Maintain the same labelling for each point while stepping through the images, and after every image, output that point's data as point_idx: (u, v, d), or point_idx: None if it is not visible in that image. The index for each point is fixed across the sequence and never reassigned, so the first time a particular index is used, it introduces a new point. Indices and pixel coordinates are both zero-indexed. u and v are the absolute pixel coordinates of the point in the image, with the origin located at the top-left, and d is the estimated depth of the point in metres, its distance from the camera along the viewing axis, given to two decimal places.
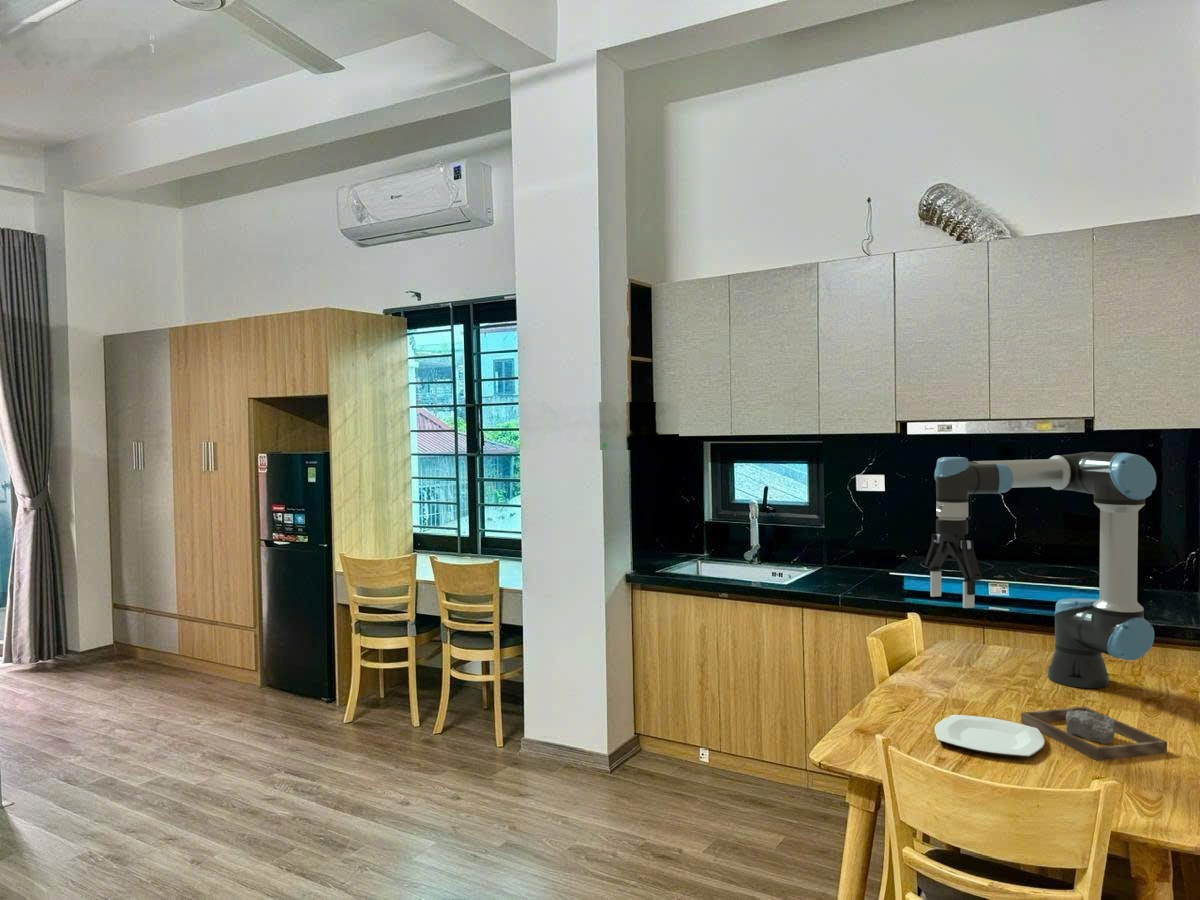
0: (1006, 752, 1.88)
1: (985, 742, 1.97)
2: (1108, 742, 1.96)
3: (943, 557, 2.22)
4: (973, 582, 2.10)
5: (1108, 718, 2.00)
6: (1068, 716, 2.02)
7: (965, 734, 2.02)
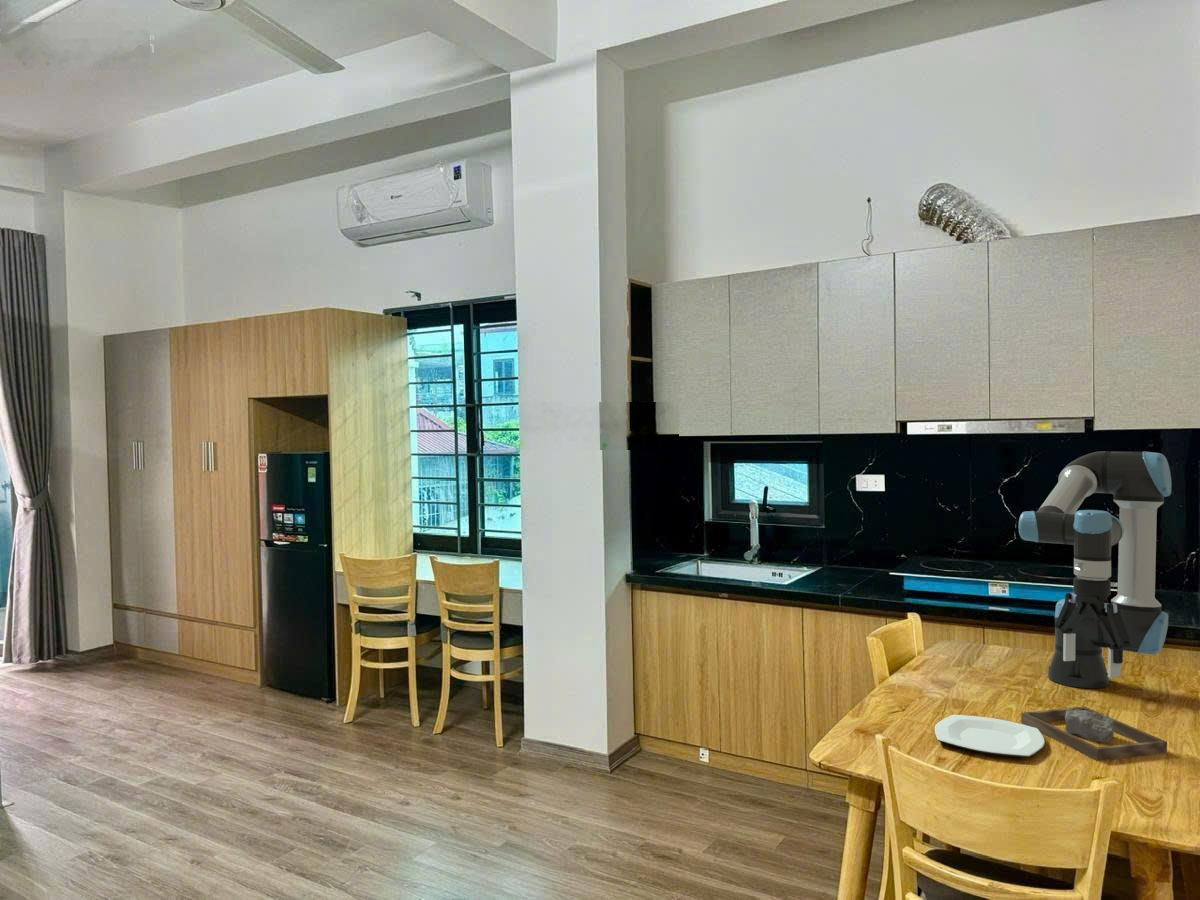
0: (1006, 752, 1.88)
1: (985, 742, 1.97)
2: (1107, 741, 1.96)
3: (1079, 619, 2.04)
4: (1121, 650, 1.91)
5: (1107, 717, 2.01)
6: (1067, 715, 2.03)
7: (965, 734, 2.02)
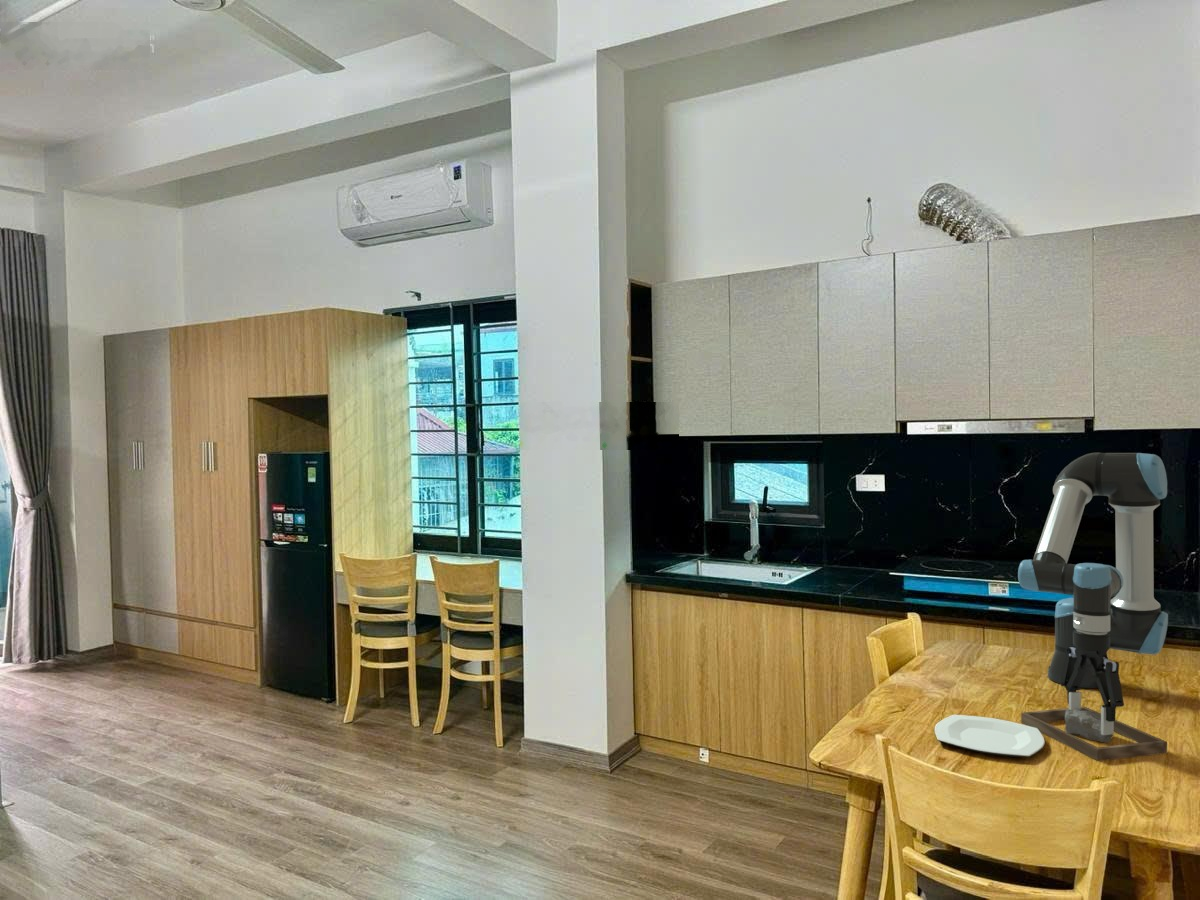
0: (1006, 752, 1.88)
1: (985, 742, 1.97)
2: (1107, 741, 1.97)
3: (1082, 674, 2.03)
4: (1113, 708, 1.94)
5: None
6: (1067, 715, 2.03)
7: (965, 734, 2.02)
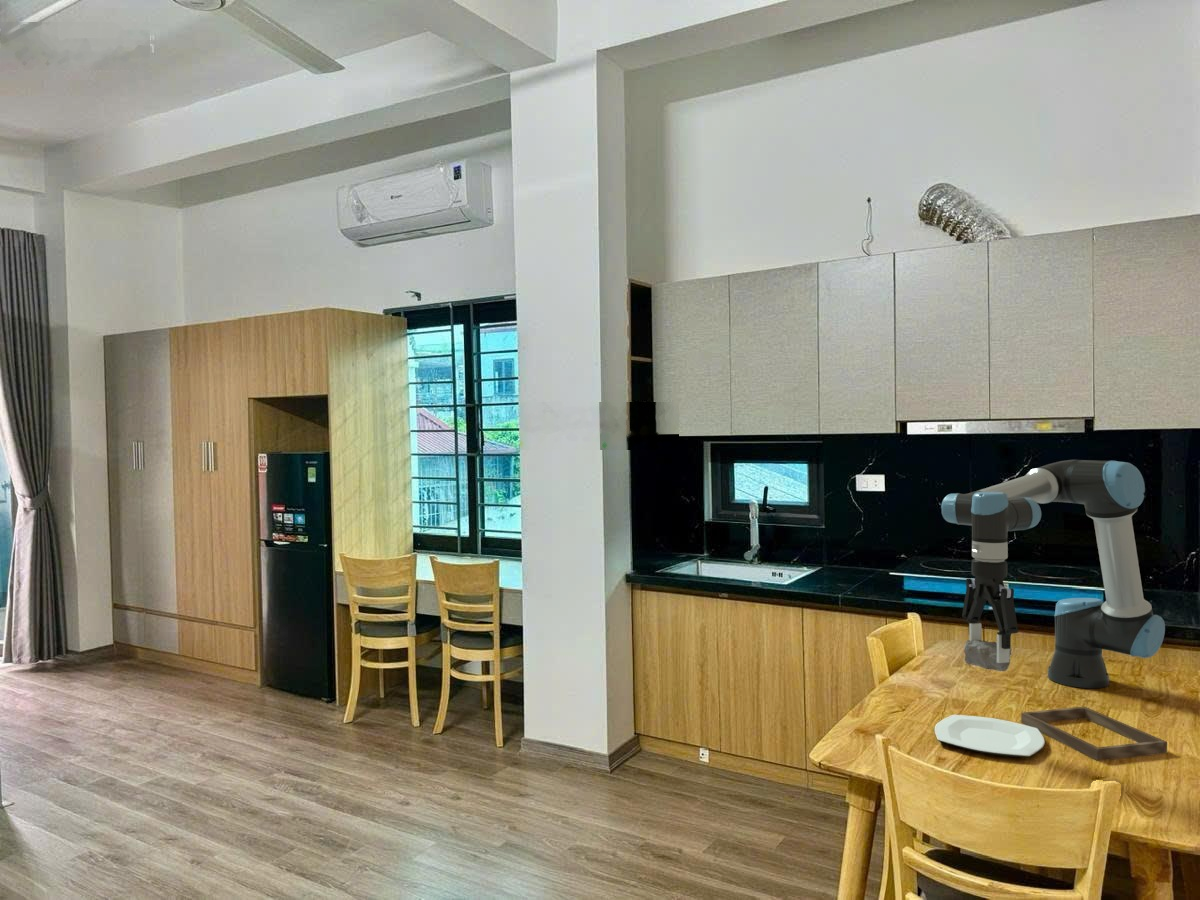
0: (1006, 752, 1.88)
1: (985, 742, 1.97)
2: (1004, 669, 1.95)
3: (981, 604, 2.01)
4: (1008, 635, 1.92)
5: None
6: (966, 646, 2.01)
7: (965, 734, 2.02)
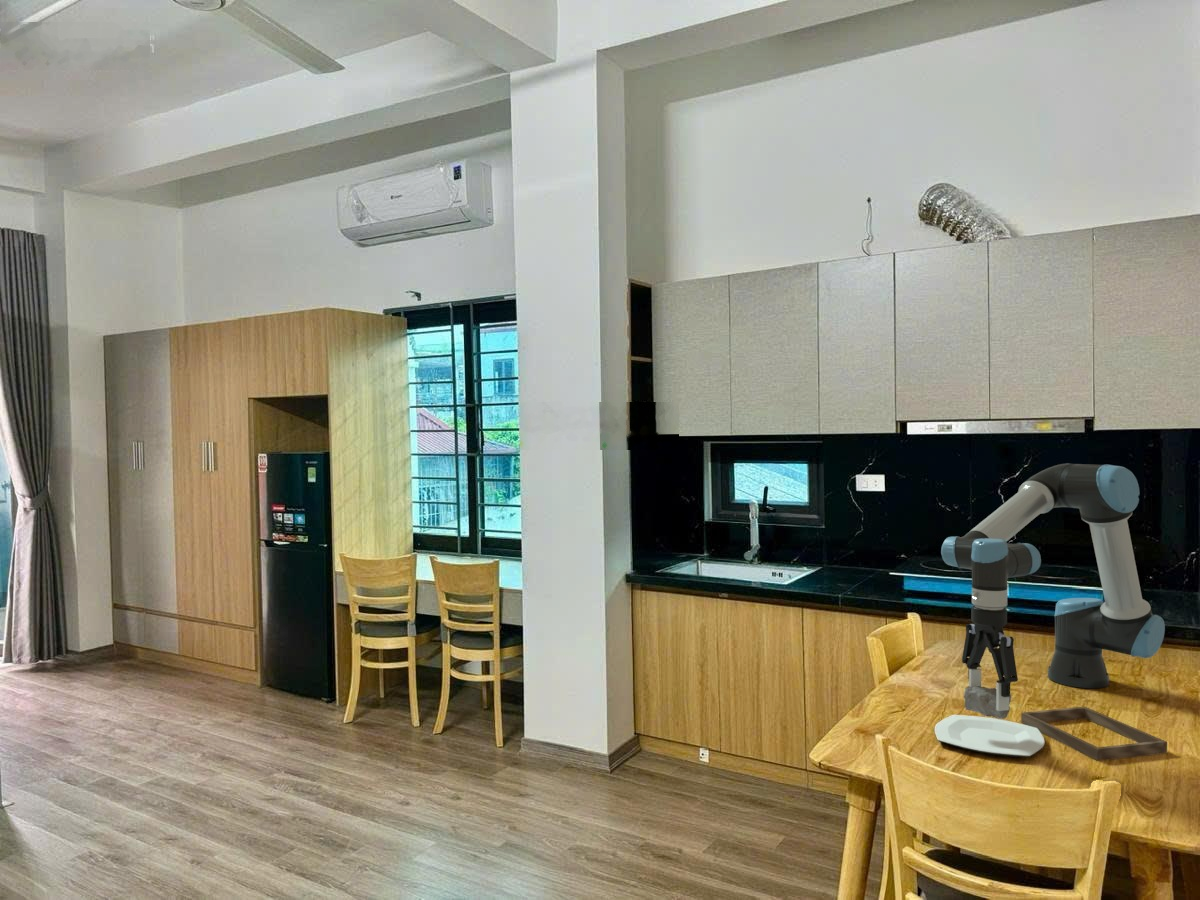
0: (1006, 752, 1.88)
1: (985, 742, 1.97)
2: (1004, 717, 1.95)
3: (981, 650, 2.02)
4: (1008, 683, 1.93)
5: None
6: (966, 692, 2.01)
7: (965, 734, 2.02)
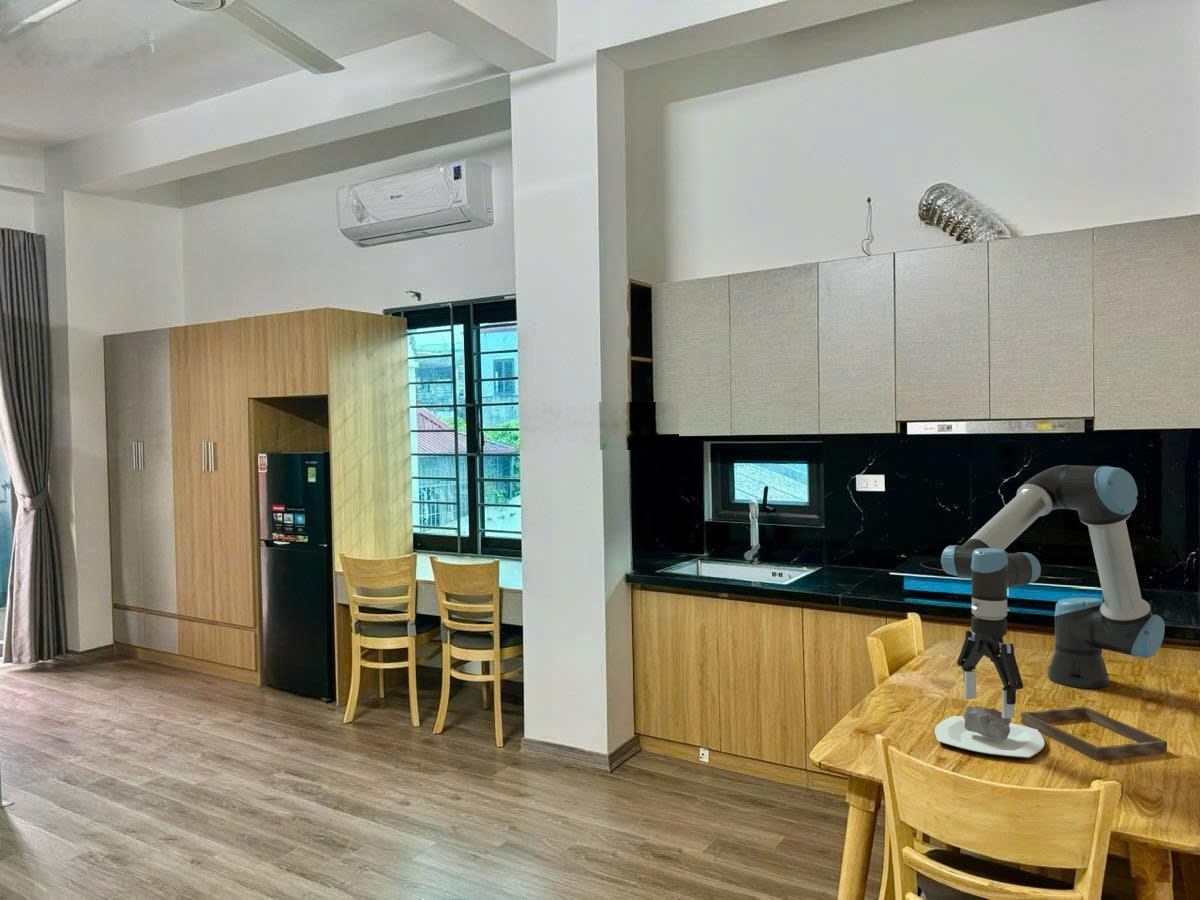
0: (1006, 753, 1.88)
1: (985, 743, 1.97)
2: (1004, 738, 1.95)
3: (979, 657, 2.03)
4: (1013, 691, 1.91)
5: None
6: (966, 712, 2.01)
7: (965, 735, 2.02)
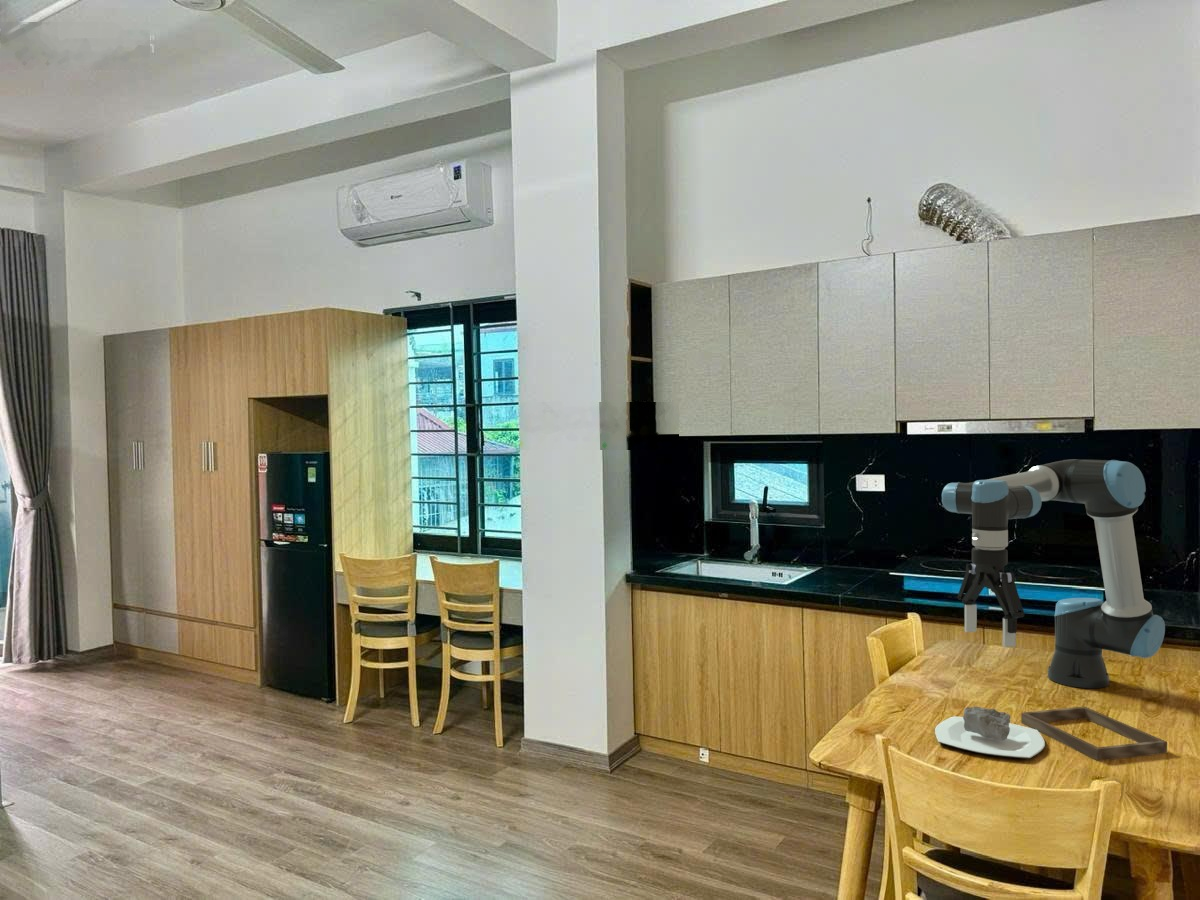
0: (1007, 754, 1.88)
1: (985, 743, 1.97)
2: (1004, 738, 1.95)
3: (979, 589, 2.02)
4: (1014, 619, 1.90)
5: (1004, 714, 2.00)
6: (965, 713, 2.01)
7: (966, 735, 2.02)
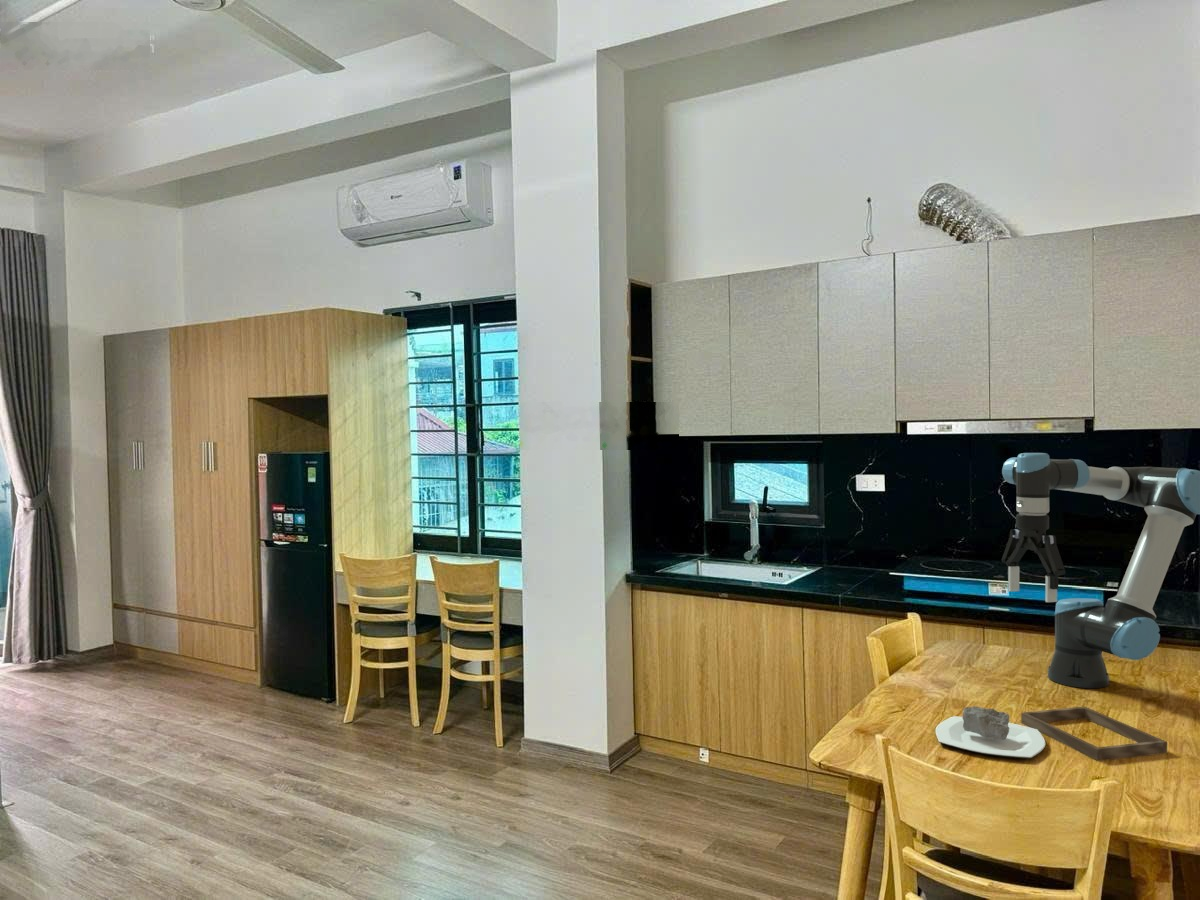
0: (1008, 754, 1.88)
1: (986, 743, 1.97)
2: (1003, 738, 1.95)
3: (1022, 552, 2.24)
4: (1056, 577, 2.12)
5: (1003, 714, 2.00)
6: (965, 713, 2.01)
7: (966, 735, 2.02)
